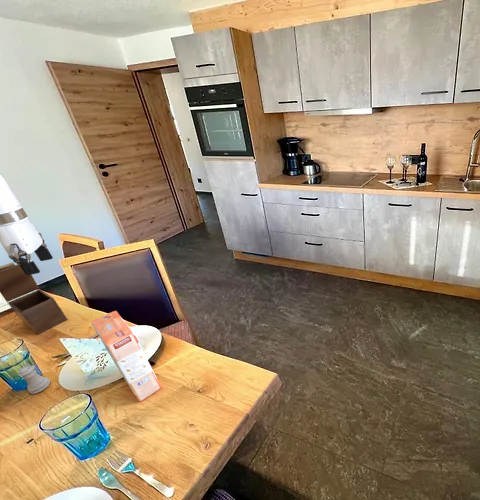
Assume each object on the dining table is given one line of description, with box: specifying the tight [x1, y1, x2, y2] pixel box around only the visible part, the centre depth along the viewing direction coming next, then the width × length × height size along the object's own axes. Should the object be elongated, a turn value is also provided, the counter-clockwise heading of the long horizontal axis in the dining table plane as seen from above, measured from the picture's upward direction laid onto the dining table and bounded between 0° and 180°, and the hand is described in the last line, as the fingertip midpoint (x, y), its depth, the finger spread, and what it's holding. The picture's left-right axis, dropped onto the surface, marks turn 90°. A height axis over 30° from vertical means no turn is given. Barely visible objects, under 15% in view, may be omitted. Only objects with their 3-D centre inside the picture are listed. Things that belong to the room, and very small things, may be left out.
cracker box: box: [90, 310, 162, 403], centre depth 77 cm, size 14×6×21 cm, turn 51°
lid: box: [0, 261, 40, 303], centre depth 101 cm, size 13×9×5 cm
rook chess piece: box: [17, 364, 51, 395], centre depth 80 cm, size 4×4×8 cm
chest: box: [7, 288, 68, 336], centre depth 104 cm, size 12×9×10 cm
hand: (40, 266), depth 93 cm, fingers open, 9 cm apart
